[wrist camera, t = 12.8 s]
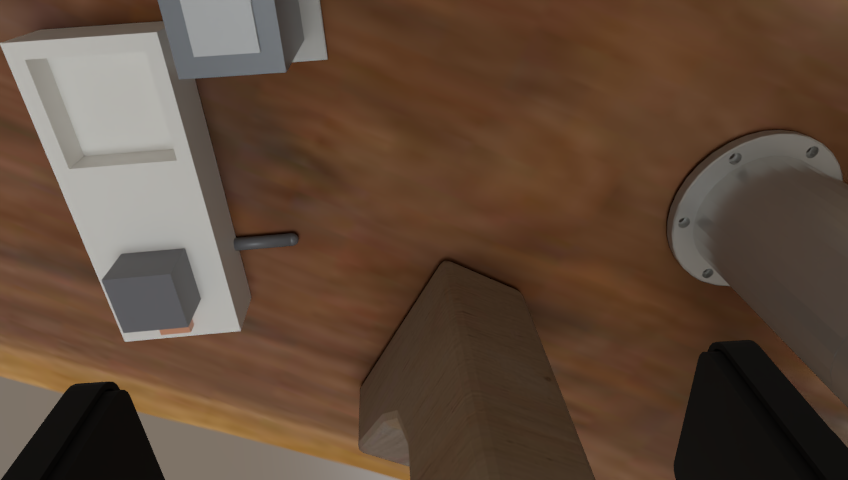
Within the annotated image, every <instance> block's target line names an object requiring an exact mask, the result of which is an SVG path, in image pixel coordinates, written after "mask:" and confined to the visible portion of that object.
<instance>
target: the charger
mask: <svg viewBox="0 0 848 480" xmlns="http://www.w3.org/2000/svg"><path fill="white" fill-rule="evenodd" d="M158 3H159V7H160V11H161V14H162V18H163V22H164V26H165V29H166V33H167V37H168V41H169V44H170V48H171V52H172V56H173V59H174V63H175V67H176V71H177V74H178V78H179V80H180V79H195V78H209V77H224V76H239V75H254V74H268V73H283V72H287V70H288V68H289V67H290V65H291V63H292V61H293V60H294V58H295V56H296V54H297V52H298V51H299V49H300V47H301V45H302V43H303V42H304V34H303V27H302V21H301V14H300V7H299V1H298V0H158Z"/></svg>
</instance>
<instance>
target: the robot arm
mask: <svg viewBox="0 0 848 480" xmlns="http://www.w3.org/2000/svg"><path fill="white" fill-rule="evenodd" d="M667 237H668V242H669V247H670V249H671V251H672V253H673V255H674V257H675V259H676V260H677V261H678V262H679V263H680V265H681V266H682V267H683V268H684V269H685V270H686V271H687V272H688V273H689V274H691V275H692V276H693V277H695V278H697V279H699V280H700V281H703V282H706V283H710V284H714V285H721V286H731V287H732V288H733V289H734V290H735V291H736V292H737V293H738V295H739V296H740V297H741V298H742V299H743V300H744V301H745V302H746V303H747V304H748V305H749V306H750V307H751V308H752V309H753V310H754V311H755V312H756V313H757V314H758V315H759V316H760V317H761V318H762V319H763V320H764V321H765V322H766V324H767V325H768V326H769V327H770V328H771V329H772V330H773V331H774V332H775V333H776V334H777V335H778V336H779V337H780V338H781V339H782V340H783V341H784V342H785V343H786V344H787V345H788V346H789V347H790V348H791V349H792V350H793V351H794V352H795V354H796V355H797V356H798V357H799V358H800V359H801V360H802V361H803V362H804V363H805V364H806V365H807V366H808V367H809V368H810V369H811V370H812V371H813V372H814V373H815V374H816V375H817V376H818V377H819V378H820V379H821V380H822V381H823V383H824V384H825V385H826V386H827V387H828V388H829V389H830V390H831V391H832V392H833V393H834V394H835V395H836V396H837V397H838V398H839V399H840V400H841V401H842V402H843V403H844V404H845V405H846V406H847V407H848V184H846V183H844V182H843V176H842V172H841V168H840V165H839V163H838V161H837V159H836V158H835V156H834V154H833V153H832V152H831V151H830V150H829V149H828V148H827V147H826V146H825V145H824V144H822V143H820V142H819V141H817V140H815V139H813V138H811V137H809V136H807V135H804V134H801V133H798V132H796V131H787V130H769V131H761V132H757V133H754V134H750V135H746V136H744V137H741V138H739V139H737V140H734V141H732V142H730V143H728V144H726V145H725V146H723V147H721V148H720V149H718V150H717V151H715V152H713V153H712V154H711V155H710V156H708V157H707V158H706V159H705V160H704V161H702V162H701V163H700V164H699V165H698V166H697V167H696V168H695V169H694V170H693V172H692V173H691V174H690V175H689V176H688V177H687V178H686V180H685V181H684V183H683V184H682V186H681V187H680V189H679V190H678V192H677V194H676V196H675V199H674V201H673V203H672V205H671V208H670V212H669V216H668V221H667ZM674 473H675V478H676V480H848V448H847V447H846V445H845V444H844V443H843V442H842V441H841V440H840V438H839V437H838V436H837V435H836V434H835V433H834V432H833V431H832V430H831V429H830V428H829V427H828V426H827V424H826V423H825V422H824V421H823V420H822V419H821V417H820V416H819V415H818V414H817V413H816V412H815V410H814V409H813V408H812V407H811V406H810V405H809V403H808V402H807V401H806V400H805V399H804V398H803V396H802V395H801V394H800V393H799V392H798V391H797V389H796V388H795V387H794V386H793V385H792V384H791V382H790V381H789V380H788V379H787V378H786V377H785V375H784V374H783V373H782V372H781V371H780V370H779V369H778V367H777V366H776V365H775V364H774V363H773V362H772V360H771V359H770V358H769V357H768V356H767V355H766V353H765V352H764V351H763V350H762V349H761V348H760V346H759V345H757V344H756V343H755V342H754V341H751V340H741V341H726V342H715V343H712V344H711V345H710V347H709V349H708V352H702V353H701V354H700V356H699V359H698V363H697V367H696V371H695V375H694V380H693V384H692V388H691V392H690V397H689V401H688V405H687V410H686V414H685V418H684V422H683V427H682V431H681V435H680V439H679V444H678V448H677V452H676V456H675V461H674ZM1 480H165V479H164V476H163V474H162V472H161V469H160V467H159V464H158V462H157V460H156V457H155V455H154V453H153V450H152V448H151V445H150V443H149V440H148V438H147V436H146V433H145V431H144V428H143V426H142V424H141V421H140V419H139V416H138V414H137V412H136V409H135V407H134V405H133V402H132V400H131V397H130V395H129V394H128V392H127V391H125V390H120V389H119V387H118V386H117V384H115V383H114V382H97V383H81V384H74V385H72V386H70V387H69V388H68V389H67V391H66V392H65V393H64V394H63V396H62V397H61V398H60V400H59V401H58V403H57V404H56V405H55V407H54V408H53V409H52V411H51V412H50V414H49V415H48V416H47V418H46V419H45V420H44V422H43V423H42V424H41V426H40V427H39V429H38V430H37V431H36V433H35V434H34V435H33V437H32V438H31V439H30V441H29V442H28V444H27V445H26V446H25V448H24V449H23V450H22V452H21V453H20V454H19V456H18V457H17V459H16V460H15V461H14V463H13V464H12V466H11V467H10V468H9V469H8V471H7V472H6V474H5V475H4V476H3V478H2V479H1Z"/></svg>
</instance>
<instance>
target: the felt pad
mask: <svg viewBox="0 0 848 480" xmlns="http://www.w3.org/2000/svg"><path fill="white" fill-rule="evenodd" d="M298 1H299V7H300V14H301V21H302V27H303V34H304V42H303V43H302V45H301V47H300V49H299V51H298V52H297V54H296V56H295V58H294V60H293V61H292V62H302V61H315V60H327V59H328V55H327V48H326V41H325V34H324V26H323V19H322V12H321V5H320V0H298Z"/></svg>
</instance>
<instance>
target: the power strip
mask: <svg viewBox="0 0 848 480" xmlns="http://www.w3.org/2000/svg"><path fill="white" fill-rule="evenodd" d="M0 45H1V47H2V50H3V52H4V54H5V57H6V59H7V62H8V64H9V66H10V69H11V71H12V73H13V76H14V78H15V81H16V83H17V85H18V88H19V90H20V93H21V95H22V97H23V100H24V102H25V104H26V107H27V109H28V112H29V114H30V116H31V119H32V121H33V124H34V126H35V128H36V131H37V133H38V135H39V138H40V140H41V143H42V145H43V147H44V150H45V152H46V155H47V157H48V159H49V162H50V164H51V167H52V169H53V171H54V174H55V176H56V178H57V181H58V183H59V186H60V188H61V190H62V193H63V195H64V198H65V200H66V202H67V205H68V207H69V209H70V212H71V214H72V217H73V219H74V221H75V224H76V226H77V229H78V231H79V233H80V236H81V238H82V240H83V243H84V245H85V248H86V250H87V252H88V255H89V257H90V260H91V262H92V264H93V267H94V269H95V272H96V274H97V276H98V279H99V281H100V283H101V286H102V288H103V291H104V293H105V295H106V298H107V300H108V303H109V305H110V307H111V310H112V312H113V314H114V317H115V319H116V322H117V324H118V326H119V329H120V331H121V334H122V336H123V338H124V341H125V342H127V341H138V340H149V339H160V338H171V337H181V336H192V335H203V334H214V333H225V332H236V331H241V329H242V326H243V323H244V319H245V316H246V313H247V310H248V307H249V304H250V301H251V294H250V290H249V286H248V282H247V278H246V274H245V271H244V267H243V263H242V259H241V255H240V251H239V250H249V249H261V248H272V247H284V246H294V245H296V244H297V243H298V236H297V235H296V234H294V233H288V234H276V235H264V236H253V237H241V238H236V236H235V232H234V228H233V224H232V220H231V216H230V213H229V209H228V205H227V201H226V197H225V193H224V189H223V186H222V182H221V178H220V174H219V170H218V166H217V162H216V158H215V155H214V151H213V147H212V143H211V139H210V135H209V131H208V128H207V124H206V120H205V116H204V112H203V108H202V104H201V100H200V97H199V93H198V89H197V85H196V81H195V79H180V80H179V78H178V74H177V71H176V67H175V63H174V59H173V56H172V52H171V48H170V44H169V41H168V37H167V33H166V29H165V26H164V22H163V21H158V22H143V23H129V24H115V25H101V26H86V27H72V28H58V29H44V30H38V31H35V32H32V33H29V34H26V35H23V36H20V37H17V38H14V39H11V40H8V41H5V42H2V43H0Z"/></svg>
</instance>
